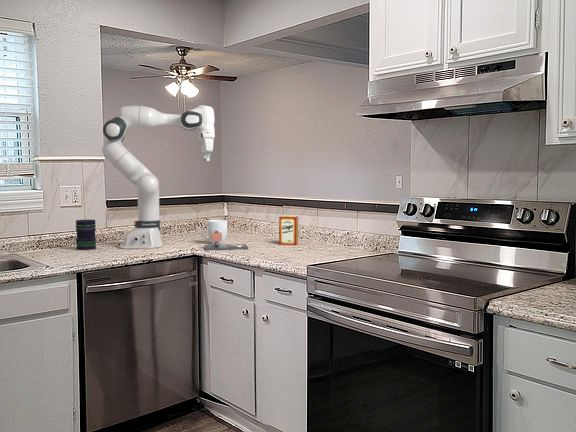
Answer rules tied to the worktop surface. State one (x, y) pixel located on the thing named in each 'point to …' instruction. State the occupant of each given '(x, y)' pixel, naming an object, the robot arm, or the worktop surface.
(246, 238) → the worktop surface
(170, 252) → the worktop surface
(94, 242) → the storage jar
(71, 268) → the worktop surface
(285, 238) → the baking soda box
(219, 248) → the base
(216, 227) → the mug
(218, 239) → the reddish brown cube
